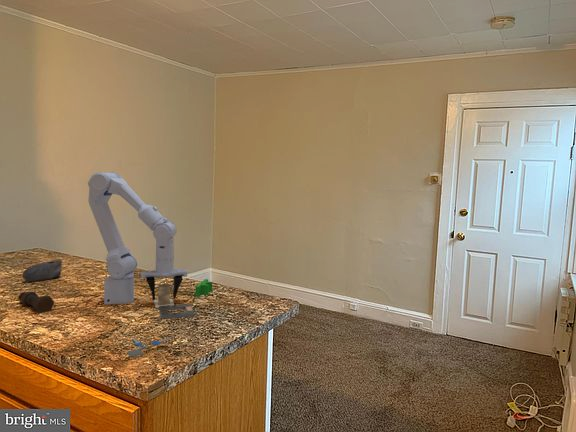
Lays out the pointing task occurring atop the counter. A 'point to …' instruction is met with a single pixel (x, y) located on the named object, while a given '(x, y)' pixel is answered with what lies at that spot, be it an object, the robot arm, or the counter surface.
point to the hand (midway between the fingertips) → (164, 298)
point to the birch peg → (164, 294)
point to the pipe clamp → (203, 288)
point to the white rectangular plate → (162, 305)
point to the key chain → (138, 351)
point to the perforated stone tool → (43, 271)
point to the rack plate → (165, 313)
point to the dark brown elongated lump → (37, 301)
